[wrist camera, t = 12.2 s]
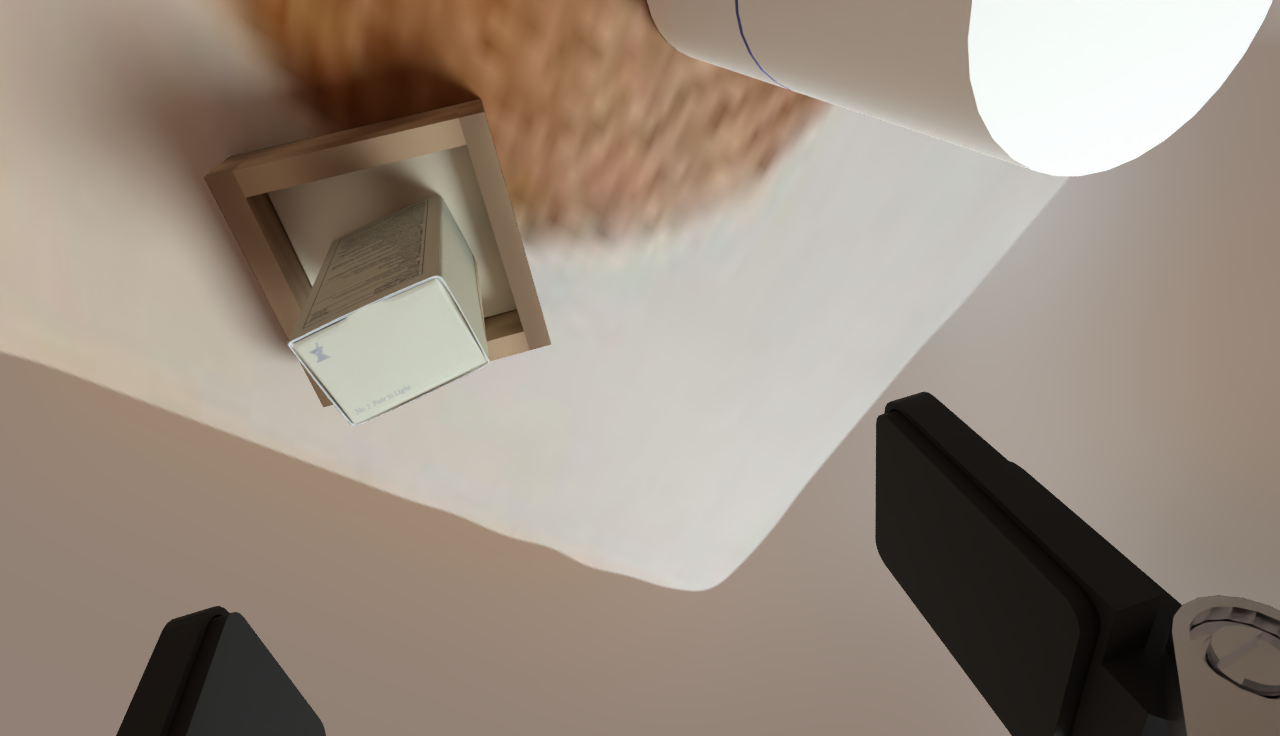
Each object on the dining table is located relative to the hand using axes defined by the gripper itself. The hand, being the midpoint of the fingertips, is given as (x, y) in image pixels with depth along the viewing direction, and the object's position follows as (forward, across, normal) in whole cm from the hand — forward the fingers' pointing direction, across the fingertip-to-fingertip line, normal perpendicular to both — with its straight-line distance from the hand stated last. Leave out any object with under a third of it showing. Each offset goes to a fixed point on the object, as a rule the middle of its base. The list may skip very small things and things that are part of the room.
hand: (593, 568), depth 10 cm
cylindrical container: (+31, -13, -5) cm, 34 cm away
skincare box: (+29, +6, +4) cm, 30 cm away
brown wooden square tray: (+30, +6, +4) cm, 31 cm away
